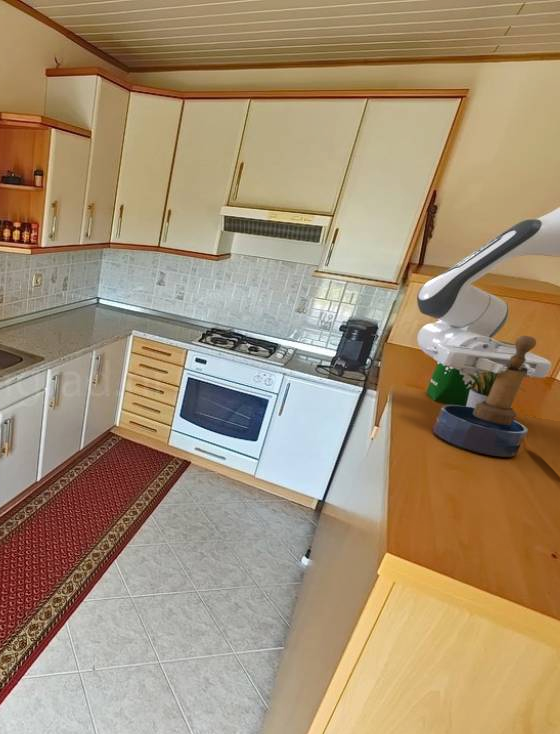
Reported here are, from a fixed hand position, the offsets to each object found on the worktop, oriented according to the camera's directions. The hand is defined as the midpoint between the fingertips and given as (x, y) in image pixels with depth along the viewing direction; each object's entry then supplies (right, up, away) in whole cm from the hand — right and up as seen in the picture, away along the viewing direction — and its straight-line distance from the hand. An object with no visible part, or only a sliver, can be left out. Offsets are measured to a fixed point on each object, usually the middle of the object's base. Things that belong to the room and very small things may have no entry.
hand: (516, 371), depth 98 cm
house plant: (+13, -11, +22) cm, 28 cm away
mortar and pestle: (-1, -10, +5) cm, 11 cm away
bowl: (-3, -15, +7) cm, 17 cm away
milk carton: (+14, -7, +35) cm, 38 cm away
